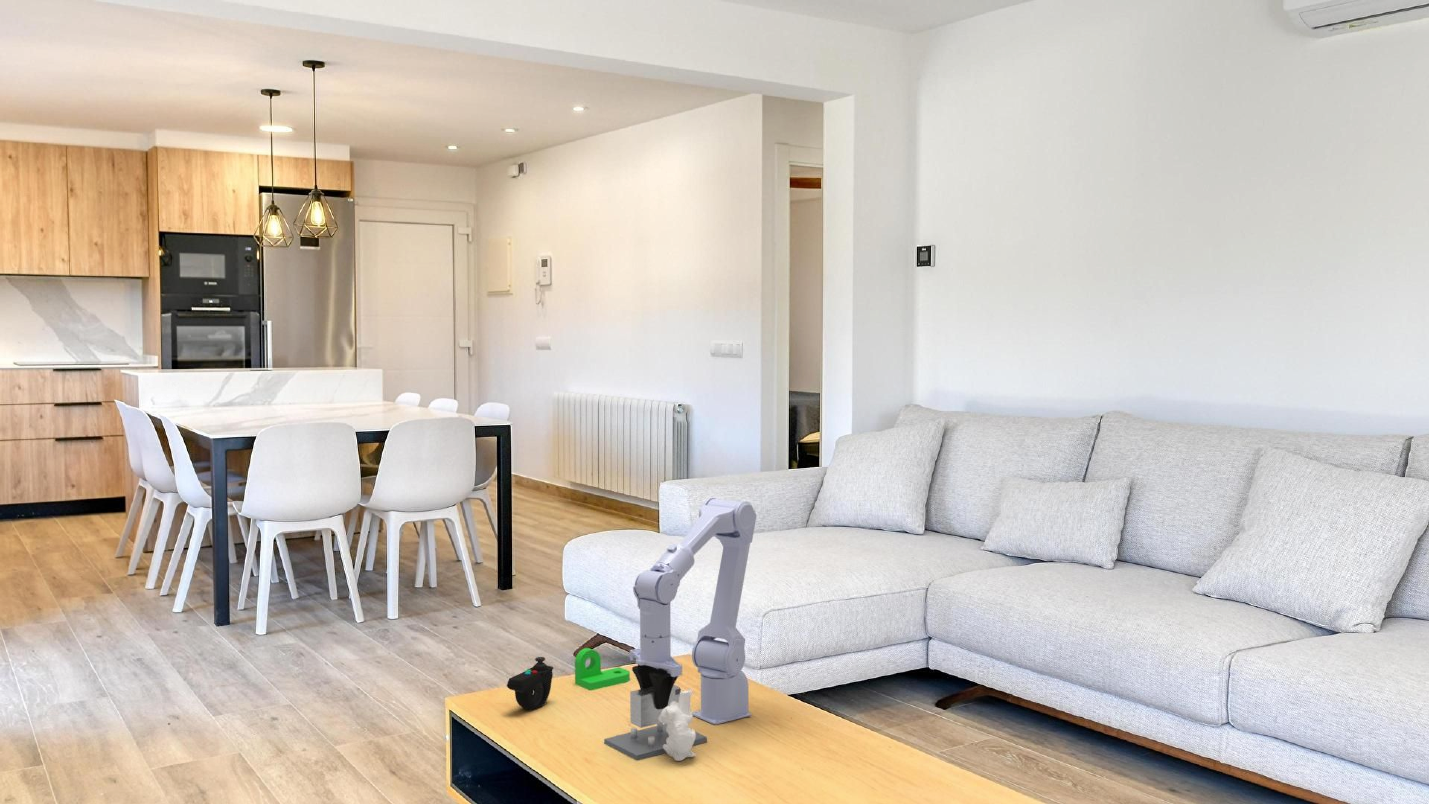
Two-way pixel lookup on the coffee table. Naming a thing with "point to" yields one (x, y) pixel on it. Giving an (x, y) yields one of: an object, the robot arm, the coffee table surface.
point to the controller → (532, 685)
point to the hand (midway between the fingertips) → (655, 705)
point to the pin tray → (645, 742)
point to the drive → (648, 706)
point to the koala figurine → (679, 727)
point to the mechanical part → (596, 672)
